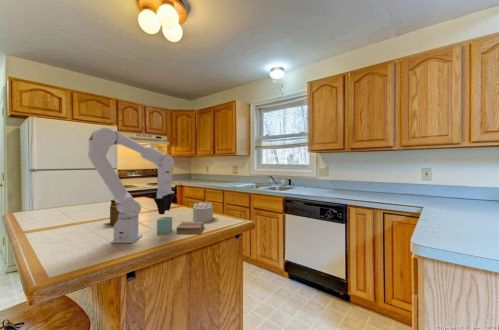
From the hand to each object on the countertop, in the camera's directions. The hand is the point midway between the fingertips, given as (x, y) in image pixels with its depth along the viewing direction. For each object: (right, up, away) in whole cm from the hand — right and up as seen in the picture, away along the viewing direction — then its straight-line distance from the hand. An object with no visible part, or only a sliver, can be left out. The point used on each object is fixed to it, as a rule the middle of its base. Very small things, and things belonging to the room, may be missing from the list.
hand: (164, 212), depth 105 cm
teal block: (0, -9, 0) cm, 9 cm away
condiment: (-28, -8, +11) cm, 31 cm away
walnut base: (+11, -9, +2) cm, 14 cm away
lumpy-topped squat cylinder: (+13, -9, +22) cm, 27 cm away
